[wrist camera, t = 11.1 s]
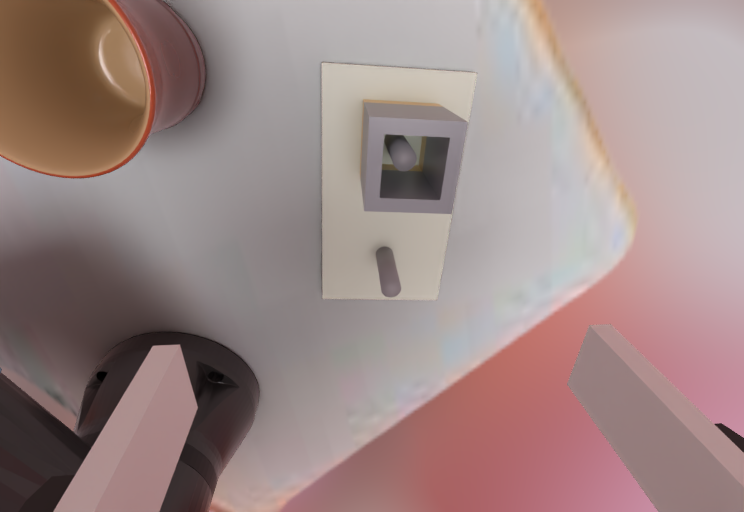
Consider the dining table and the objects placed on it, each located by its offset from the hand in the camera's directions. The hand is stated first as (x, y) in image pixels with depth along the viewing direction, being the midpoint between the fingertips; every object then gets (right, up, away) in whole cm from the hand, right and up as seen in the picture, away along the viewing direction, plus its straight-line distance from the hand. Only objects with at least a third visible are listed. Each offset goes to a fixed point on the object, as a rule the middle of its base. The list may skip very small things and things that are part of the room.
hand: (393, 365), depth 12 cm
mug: (-15, +17, +11) cm, 25 cm away
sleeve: (+1, +12, +14) cm, 18 cm away
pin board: (+1, +8, +17) cm, 19 cm away
